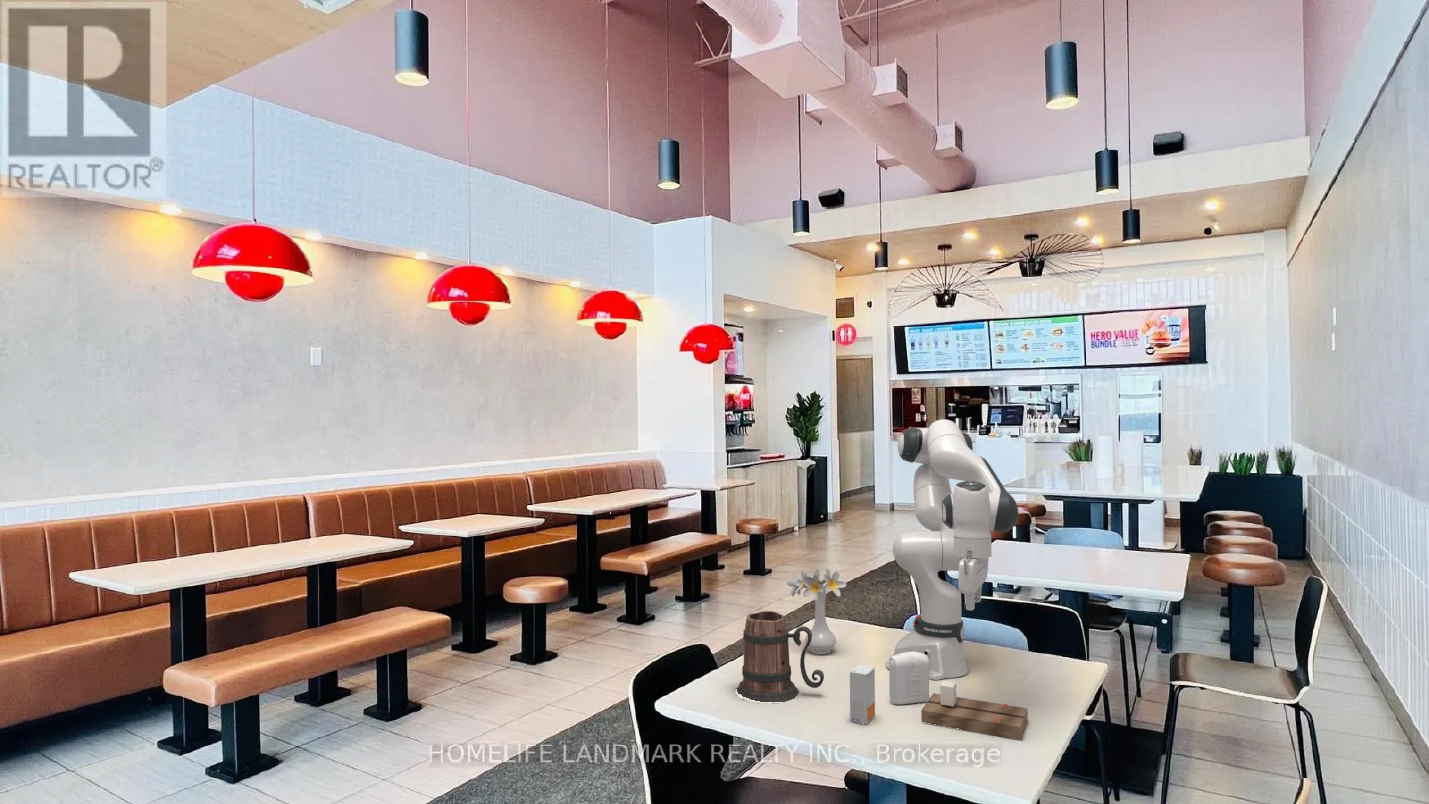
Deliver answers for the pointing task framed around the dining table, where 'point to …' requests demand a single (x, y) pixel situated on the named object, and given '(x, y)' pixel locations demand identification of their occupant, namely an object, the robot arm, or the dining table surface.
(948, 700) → the fader knob
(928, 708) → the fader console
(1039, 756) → the dining table surface
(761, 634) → the tankard
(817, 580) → the flower vase
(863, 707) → the skincare box
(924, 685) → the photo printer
